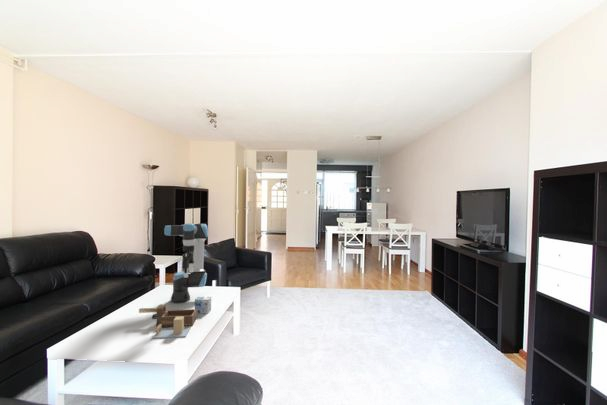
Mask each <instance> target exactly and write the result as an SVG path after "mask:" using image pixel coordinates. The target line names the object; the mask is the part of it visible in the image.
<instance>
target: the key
mask: <svg viewBox="0 0 607 405" xmlns="http://www.w3.org/2000/svg"><path fill="white" fill-rule="evenodd" d="M138 313H139V314H143V313H145V314H146V313H157V307H146V308H144V307H142V308H138Z"/></svg>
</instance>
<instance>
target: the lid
mask: <svg viewBox="0 0 607 405" xmlns="http://www.w3.org/2000/svg"><path fill="white" fill-rule="evenodd" d="M190 330H191V327H184V316H180V317H175V319H174V327H169V328H162V324H159V326H157V327H156V328H155V331H156V333H155V334H154V335H153V337H152V340H156V339H159V340H160V339H175V338H176V339H179V338H187V335H188V334H189V332H190Z"/></svg>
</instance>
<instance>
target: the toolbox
mask: <svg viewBox="0 0 607 405" xmlns="http://www.w3.org/2000/svg"><path fill="white" fill-rule="evenodd" d="M156 308H157V312H156V326H157V327H158V326H159V324H162V329H164V328H174V319H175V317H180V316H184V328H187V327H193V326H194V324H195V322H196V320H197V313H196V309H195V308H194V309H169V310H167V309H166V308H167V306H166V303H164V304H158V306H157V307H156Z"/></svg>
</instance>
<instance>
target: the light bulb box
mask: <svg viewBox="0 0 607 405" xmlns="http://www.w3.org/2000/svg"><path fill="white" fill-rule="evenodd" d="M194 309H196V314H204V313H205V314H207V315H208V314H209V313H210V312H211V311H212V296H201V295H200V296H199V295H198V296H197V297H196V298H195V299H194ZM205 314H204V315H205Z"/></svg>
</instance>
